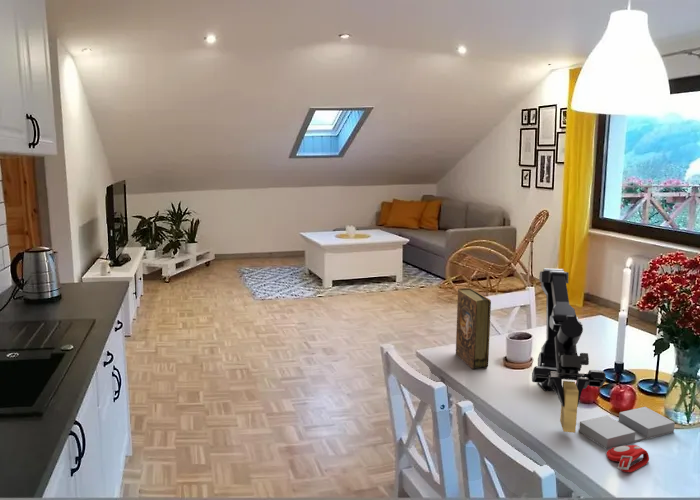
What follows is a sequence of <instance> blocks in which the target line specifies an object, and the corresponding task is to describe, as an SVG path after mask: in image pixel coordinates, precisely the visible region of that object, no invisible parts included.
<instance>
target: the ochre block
mask: <svg viewBox="0 0 700 500" xmlns="http://www.w3.org/2000/svg"><path fill="white" fill-rule="evenodd" d="M562 387H563V394H564V402H565V406H564V407H563V406H562V404H561V403H560V415H559V416H560V417H559V422H560V425H561V427H562V428H561V429H562V430H563V431H562V432H564V433H565V432H566V433H572V434H573V433H576V427H577V417H578V416H577V415H578V414H577V413H578V407H577V405H578V406H579V404H578V393H579V391H578V389H577V386H576V382H575V381H572V380H562Z"/></svg>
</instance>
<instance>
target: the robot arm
mask: <svg viewBox="0 0 700 500" xmlns="http://www.w3.org/2000/svg"><path fill="white" fill-rule="evenodd" d="M538 278H539V282H540V286H541V287H540V288H541V289H542V291H543V293H544V294H545V296H546V297H545V298H546V301H545V302H546V303H545V304H546V314H545V315H546V321H545V322H546V333H545V334H546V335H545V337H546V339H545V342H544V343H543V344H542V346H541V351H540V352H539V354H538V357H537V365H535V366H534V367H533V369H532V372H531V382H532V383H537V384H538V385H539V387H540V388H541V389H543V391H545V392H546V391H548V392H549V391H551V392H552V391H554V393H555V394H556V396H557V399H558V400H559V402H560V405H561V404H562V406H563V407H564V406H565V402H564V394H563V380H564V381H576V382H575V384H576V386H577V389H578V391H579V393H578V405H577V408H578V407H579V402H580V399H581V395H582V392H583V390H584V389H587V388H588V386H589V387H594V388H601V387H603V385H604V384H605V382H606V381H607V376H606V375H607V374H606V373H605V371H604V370H601V369H600V370H599V369H588V372H587V373H579V372H581V370H582V369H581V368H582V366H589V363H590V361H589V353H586V352H580V353H579V355H578V352H577V344H578V342H579V340H580V338H581V337H582V335H583V331H584V328H583V323H582V322H581V320H580V319H579V317H578V316H577V315H576V314H577V313H576V310H575V308H573V307H572V306H571V304H570V300H569V293H568V287H567V284H569V272H568V271H564V268H545V267H544V268H543V270H541V271H539V277H538Z"/></svg>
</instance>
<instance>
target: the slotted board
mask: <svg viewBox="0 0 700 500" xmlns="http://www.w3.org/2000/svg"><path fill="white" fill-rule="evenodd" d="M675 422H676V421H673V420H671V419H669V418H667V417H666V416H664V415H662V414H660V413H658V412H656V411H654V410H652V409H651V408H648V407H647V406H642V407H638V408H633V409H628V410H624V411H620V412H619V415H618V420H616V419H615V418H612V417H611V416H609V415H602V416H598V417H594V418H590V419H585V420H581V421H579V428H578V432H579V433H581V434H582V435H583V436H585V437H587V438H588V439H590V440H591V441H593V442H595V443H596V444H598V445H599V446H600V447H602V448H604V449H605V450H610V449H611V448H614V447H617V446H626V445H629V444H633V443H637V442H640V441H641V442H642V441H644V440H648V439H652V438H655V437H660V436H664V435H668V434H672V433H674V432H675V424H676V423H675Z"/></svg>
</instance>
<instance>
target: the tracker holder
mask: <svg viewBox="0 0 700 500" xmlns="http://www.w3.org/2000/svg"><path fill="white" fill-rule="evenodd" d="M605 454H606V457H607V459H609V460H610V461H613V462H619V463H618V464H617V465H618V466H617V470H621V472H623V473H633V472H635V471H637V470H640V468H642V467H645V466H646V465H647V464H649V461H650V456H649V452H648V451H647V450H646V449H644V448H643V447H642V446H640V445H636V444H631V445H629V444H626V445H622V446H617V447H614V448H610V449H607V451H606V453H605ZM640 457H642V458H641V460H639V461H637V462H635V463H634V464H632V465H631V463H633V462H634V461H635V460H637V459H638V458H640Z"/></svg>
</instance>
